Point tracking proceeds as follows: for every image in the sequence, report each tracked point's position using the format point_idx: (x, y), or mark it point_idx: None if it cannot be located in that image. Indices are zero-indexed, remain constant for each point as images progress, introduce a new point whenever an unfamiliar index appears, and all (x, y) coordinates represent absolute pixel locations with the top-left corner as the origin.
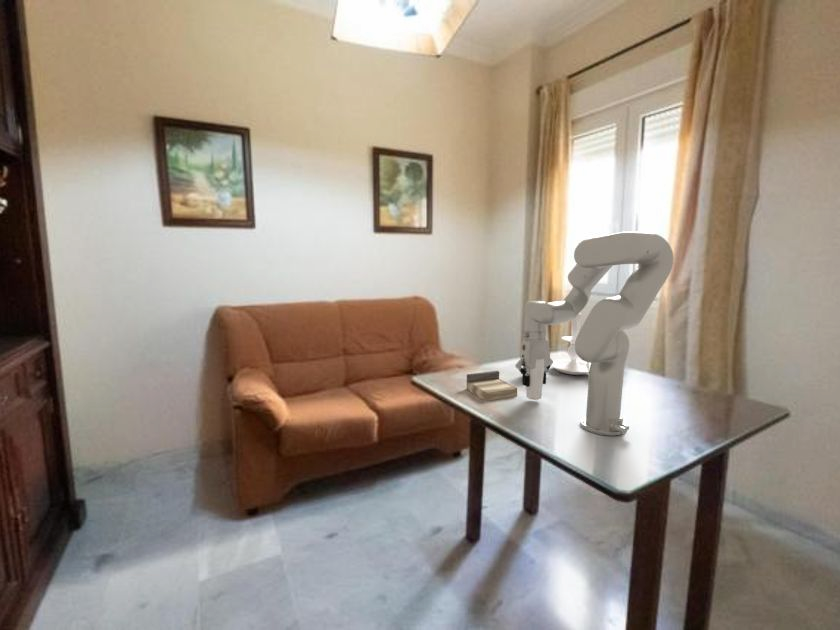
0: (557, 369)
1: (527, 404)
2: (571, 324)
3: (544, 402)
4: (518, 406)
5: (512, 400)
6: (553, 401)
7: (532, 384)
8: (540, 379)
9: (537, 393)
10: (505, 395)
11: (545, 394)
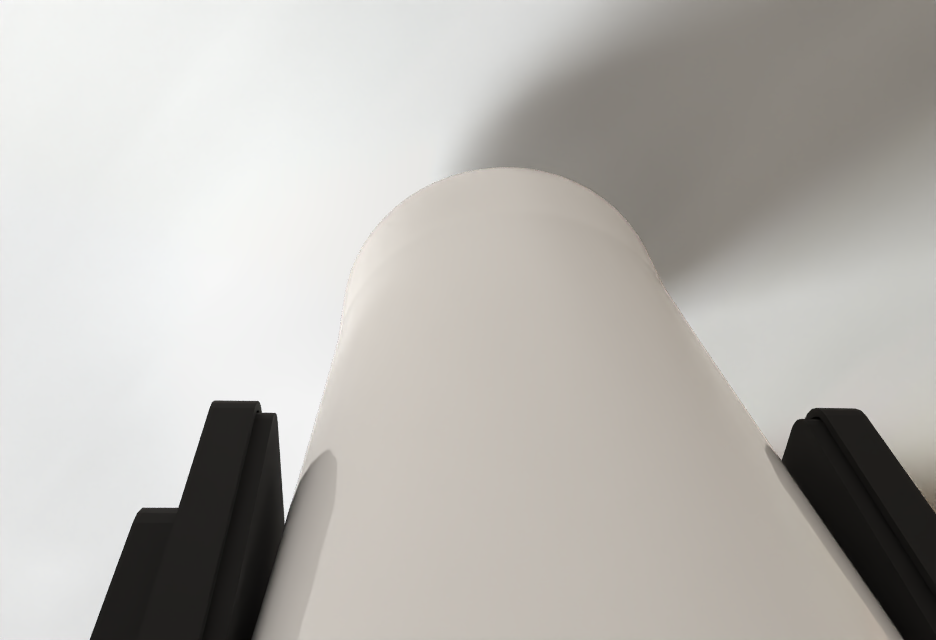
0: None
1: (701, 194)
2: None
3: (323, 149)
4: (922, 179)
5: (776, 425)
6: (104, 120)
7: (748, 413)
8: (567, 432)
9: (567, 221)
10: None
11: (48, 447)
